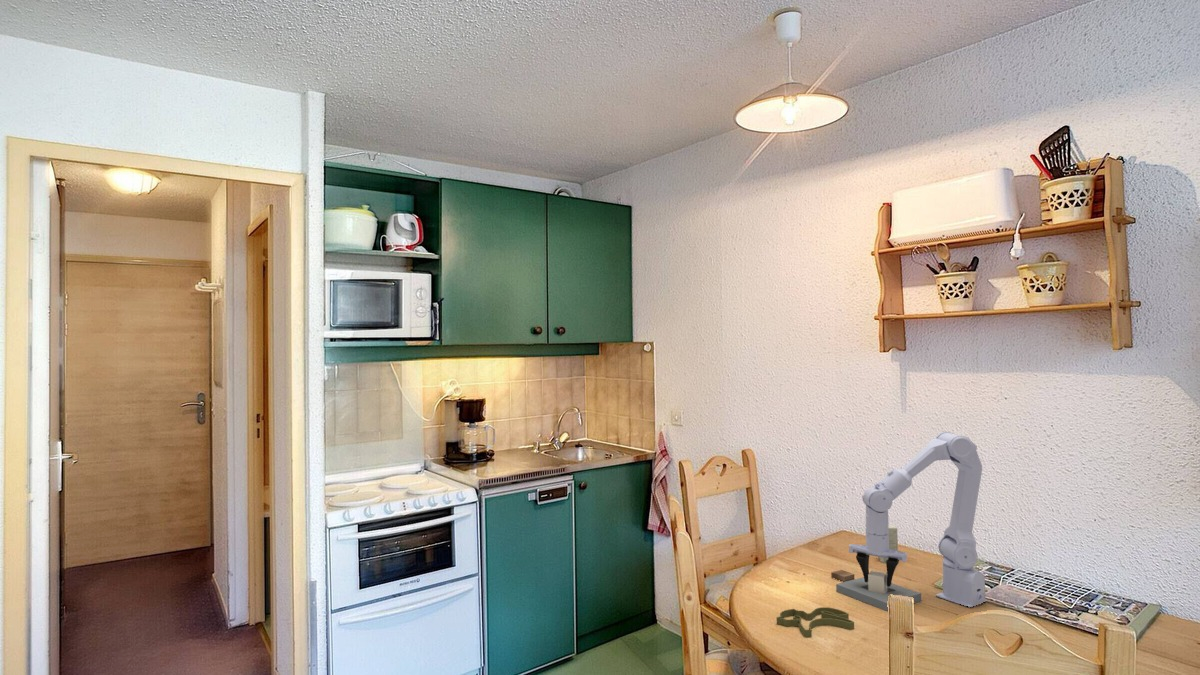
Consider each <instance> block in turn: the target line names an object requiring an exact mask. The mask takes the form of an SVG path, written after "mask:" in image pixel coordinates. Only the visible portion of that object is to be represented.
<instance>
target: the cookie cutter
mask: <svg viewBox="0 0 1200 675" xmlns="http://www.w3.org/2000/svg"><path fill="white" fill-rule="evenodd" d="M849 614H850V613H848V612H846V611H844V610H840V609H837V608H832V607H825V606H824V607H823V606H822V607H821V606H820V607H818V608H815V609H814V610H812V611H811V612H809V613H807V612H806V611H805V610H798V609H795V608H790V609H789V608H788V609H785V610H783V611H780V613H779V616H776V625H778V626H783V627H788V628H791V627H795V628H799V631H800V633H801V635H802V636H803V637H804V638H813V637H812V634H813V633H812V629H814V628H816V627H822V626H830V627H837V628H841V629H842V628H843V629H845V630H848V631H851V630H854V629H855V621H853V620H850V619H849V618H850V616H849ZM819 615H820V617H821V618H816V617H818V616H819ZM789 617H792V618H791V619H786V618H789ZM802 618H803V620H805V621H810V622H809V623H808V629H806V628H805V627H804V625H803V624H802ZM814 618H816V619H814Z"/></svg>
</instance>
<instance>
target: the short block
mask: <svg viewBox="0 0 1200 675" xmlns="http://www.w3.org/2000/svg"><path fill="white" fill-rule="evenodd" d="M830 575H831V578H830V579H833V578H835V579H834V580H836V579H837V580H836V581H838V580H840V581H839V582H841V581H843V582H846V581H850V580H854V579H855V573H853V572H849V571H846V570H843V569H840V570H836V571H831V574H830ZM843 582H842V583H843Z"/></svg>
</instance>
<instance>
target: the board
mask: <svg viewBox="0 0 1200 675" xmlns="http://www.w3.org/2000/svg"><path fill="white" fill-rule="evenodd" d="M835 586H836V587H835V589H836V590H835V591H836V593H840V594H841V595H845V596H848V597H849V598H853V599H855V600H858V601H860V602H863V603H865V604H868V605H871V606H873V607H875V608H879V609H880V610H883V611H886V612H889V611H888V607H887V601H888V596H889V595H890V594H893V595H902V596H908V597H913V598H914V602H915V603H914V604H916V603H919V602H920V603H921V602H922V592H919V591H916V590H913V589H910V588H907V587H905V586H901V585H898V584H895V583H893V582H891V586H890V587H888V586H887V593H885V594H881V595H880V594H878V593H875V592H872V591H869V590H868V582H865V580H864V576H863V577H859V578H854V580H850V581H846V582H839V583H836V584H835Z"/></svg>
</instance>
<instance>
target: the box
mask: <svg viewBox="0 0 1200 675" xmlns="http://www.w3.org/2000/svg"><path fill="white" fill-rule="evenodd" d="M898 541H899V540H898V527H896V526H895V525H893V524H889V549H892V550H896V551H899V544H898ZM877 559H878V560H879V561H880V563H882V564H886V561H887V560H888V558H883V557H877Z"/></svg>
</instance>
